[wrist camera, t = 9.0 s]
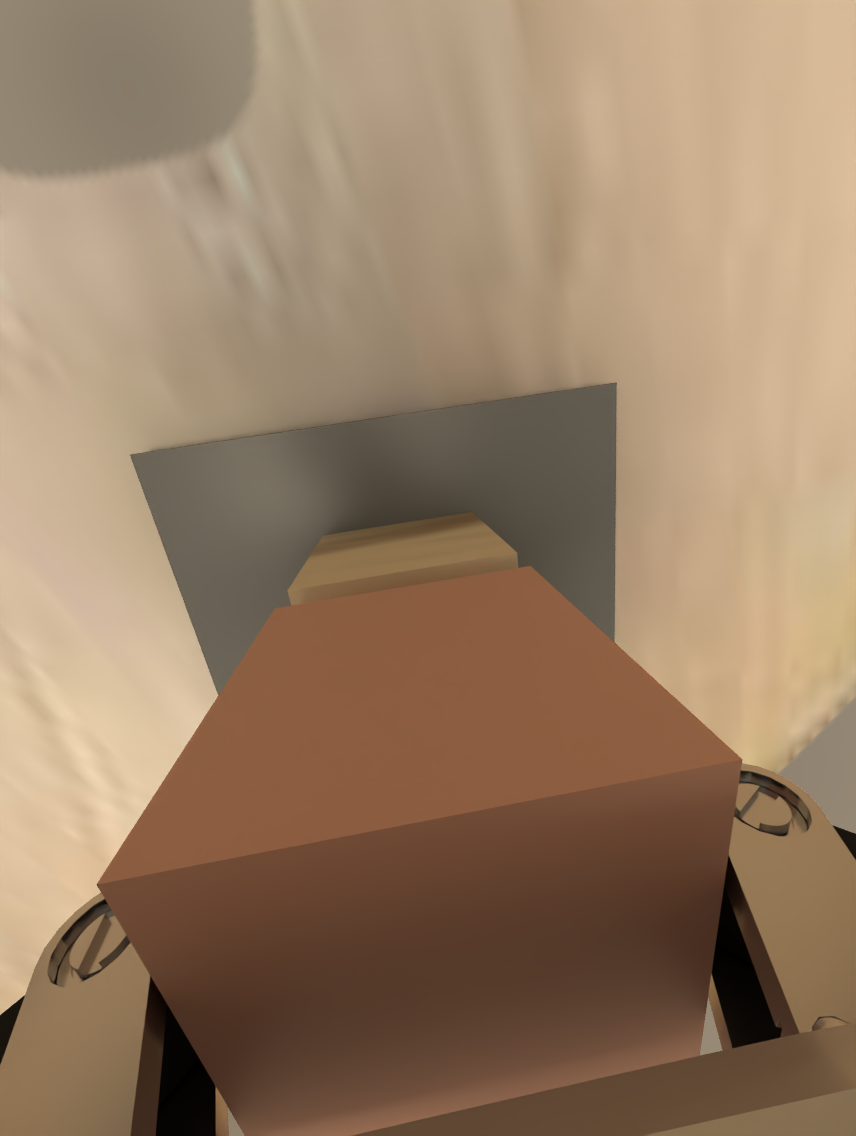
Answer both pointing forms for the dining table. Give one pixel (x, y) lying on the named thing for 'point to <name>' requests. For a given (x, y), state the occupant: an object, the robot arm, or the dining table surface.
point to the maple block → (400, 557)
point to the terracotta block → (431, 861)
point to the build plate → (387, 502)
